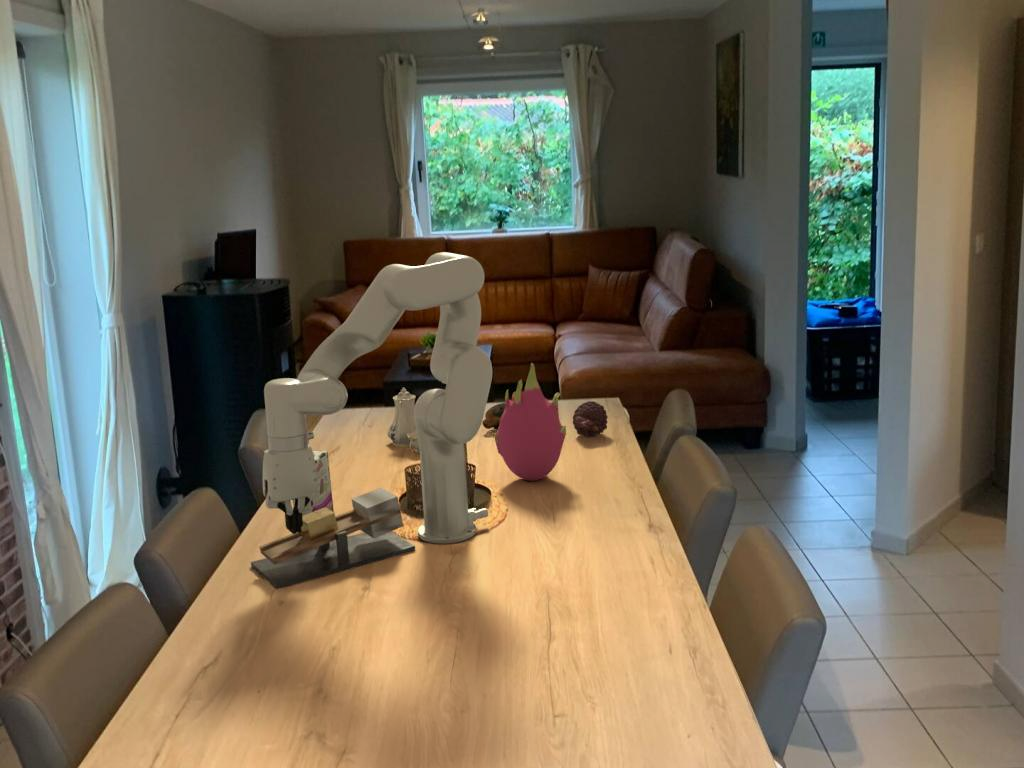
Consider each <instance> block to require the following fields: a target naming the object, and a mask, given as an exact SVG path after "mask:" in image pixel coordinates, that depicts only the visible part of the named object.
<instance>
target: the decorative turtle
mask: <svg viewBox="0 0 1024 768" xmlns="http://www.w3.org/2000/svg"><path fill="white" fill-rule="evenodd" d="M504 410H505V402H503V403H502V402H501V403H498V404H495V405H493V406H491V407H490V408H488V410H487V411H486V412H485V413H484V415H485V417H484V418H485V419H482V423H481V425H483V427H484V428H485V429H487V430H491V429H495V430H497V429H499V424H500V419H501V416H502V414H503V412H504Z"/></svg>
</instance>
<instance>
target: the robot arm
mask: <svg viewBox="0 0 1024 768" xmlns="http://www.w3.org/2000/svg"><path fill="white" fill-rule="evenodd" d="M485 279H486V278H485V271H484V268H483V266H482V264H481V262H479V261H478V260H477V259H475V258H474V257H473V256H468V255H465V254H464V255H463V254H458V253H452V252H447V251H446V252H445V251H443V252H436V253H434V254H432V255H430V256H429V257H428V259H427V260H426V261H425V263H424V265H417V266H414V265H413V266H410V265H407V264H406V265H405V264H400V263H392V264H389V265H386V266H384V267H383V268H382V269H381V270H380V271H379V272H378V273H377V275H376V276H375V278H374V279H373V281H372V282H371V283H370V285H369V286H368V288H367V289H366V291H365V293H364V294H363V295H362V296H361V298H360V299H359V301H358V302H357V303H356V305H355V307H354V308H353V310H352V311H351V313H350V314H349V315H348V317H347V318H346V319H345V321H344V322H343V323H342V324H340V326H338V327H337V328H336V329H335V330H334V331H333V332H332V333H331V334H330V335H329V336H328V337H326V338H325V340H323V341H322V343H320V344H319V345H318V346H317V348H316V349H315V350H314V351H313V353H312V354H311V355H310V357H309V358H308V360H307V361H306V363H305V365H304V366H303V367H302V369H301V371H300V372H299V374H298V375H297V378H290V377H287V378H286V377H283V378H276V379H275V378H274V379H271V380H270V381H268V382H266V383H265V385H264V389H263V394H264V395H263V396H264V405H265V407H264V408H265V419H266V420H265V421H266V433H267V443H268V444H267V445H268V449H266V450H264V452H263V453H264V454H263V459H262V460H263V461H262V493H263V496H264V497H265V504H264V505H265V507H266V508H268V509H270V510H271V509H279V510H280V511H282V512H283V513H284V517H285V518H284V519H285V528H286V530H288V532H290V533H291V534H296V533H297V532H298V533H301V532H302V530H301V527H302V526H303V518H302V513H303V512H304V508H305V507H306V506H307V504H308V503H309V502H310V501H312V500H314V499H317V498H318V497H319V494H318V476H317V469H316V464H315V459H314V455H313V452H312V450H313V448H312V446H311V445H310V441H311V440H313V439H314V438H315V435H314V432H313V431H311V432H309V431H308V428H307V427H308V426H307V416H330V415H333V414H336V413H339V412H340V411H342V409H343V408H345V406H346V404H347V401H348V398H349V397H348V396H349V395H348V390H347V388H346V386H345V384H344V383H343V382H342V381H340V380H339V378H340V376H341V375H342V373H344V371H345V369H347V367H348V366H349V365H350V364H351V363H352V362H354V361H356V359H358V358H360V357H361V356H363V355H367V354H368V353H371V352H373V351H374V350H377V349H378V348H379V347H381V346H382V345H383V344H384V342H385V341H386V340H387V338H388V336H389V334H390V333H391V331H392V330H393V328H394V327H395V325H396V324H397V322H398V321H399V320H400V318H401V317H402V316H403V314H404V313H405V311H421V310H422V311H423V310H427V309H431V308H435V307H439V311H440V314H439V322H438V327H437V332H436V336H435V340H434V346H433V349H432V353H431V357H430V364H429V367H430V369H429V370H430V371H431V374H432V376H433V377H434V378H435V379H436V380H438V382H441V383H442V384H445V389H442V388H433V389H428V390H426V391H424V392H423V393H422V394H421V395H420V396H419V397H418V399H417V400H416V402H415V403H414V406H415V408H414V422H415V427H416V432H417V436H418V442H419V450H420V453H419V459H420V476H421V477H420V478H421V493H422V506H423V508H422V509H423V520H424V521H423V522H424V523H423V524H421V525H419V527H418V529H417V536H418V538H419V537H420V538H421V539H420V538H419V539H420V540H421V541H424V542H426V543H427V542H428V543H429V544H430V543H431V544H432V543H433V544H446V545H447V544H454V543H459V542H462V541H463V542H464V541H466V540H468V539H471V538H472V537H474V535H476V534H477V525H476V524H475V523H474V522H477V520H478V519H485V518H488V516H489V511H488V509H487V508H485V507H484V508H481V509H477V508H476V507H473V508H469V505H468V503H469V501H468V487H467V470H466V469H467V467H466V464H467V463H466V451H465V445H464V444H466V443H467V444H468V443H469V442H470V441H471V440H473V439H474V438H475V437H476V435H477V434H478V432H479V430H480V428H481V426H482V422H483V420H484V415H485V410H486V406H487V402H488V397H489V393H490V389H491V384H492V381H493V380H492V379H493V366H492V360H491V358H490V356H489V355H488V353H487V352H486V351H485V350H484V349H482V348H481V347H479V346H477V345H478V340H479V339H478V338H479V333H480V328H481V327H480V326H481V321H482V306H481V300H480V297H479V294H478V293H479V292H480V291H481V290H482V288H483V286H484V283H485ZM293 500H294V504H293V503H292V502H291V501H293ZM292 505H293V506H292Z"/></svg>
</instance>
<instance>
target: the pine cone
mask: <svg viewBox="0 0 1024 768" xmlns="http://www.w3.org/2000/svg"><path fill="white" fill-rule="evenodd" d="M607 419H609V418H608V415H607V410H606V409H605V406H604V405H601V404H600V403H598V402H596V401H594V400H593V401H592V400H590V401H586V402H582V404H580V405H579V406H578V407H577V408H576V409H575V410H574V413H573V416H572V424H573V428H574V430H576V434H577V435H579V436H581V437H584V438H589V439H592V438H596V437H597V436H600V435H601V434H603V433H604V432H605V430H606V429H607V428H608V420H607Z"/></svg>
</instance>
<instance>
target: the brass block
mask: <svg viewBox="0 0 1024 768" xmlns="http://www.w3.org/2000/svg"><path fill="white" fill-rule="evenodd" d="M335 513H336V512H335V511H334V512H332V511H331V510H329V509H328V508H326V507H324V508H322V509H319V510H317V511H314V512H311V513H309V514H306V515H304V516H302V518H303V526H302V527H301V530H302V535H303V536H304V537H305V538H307V539H308V540H310V541H312V540H314V539H317V538H319V537H322V536H324V535H326V534H329V533H331V532H334V531H336V530H338V526H337V521H336V514H335Z"/></svg>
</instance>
